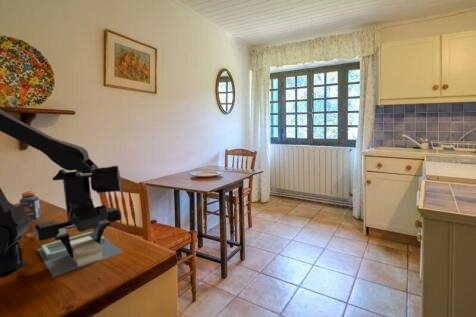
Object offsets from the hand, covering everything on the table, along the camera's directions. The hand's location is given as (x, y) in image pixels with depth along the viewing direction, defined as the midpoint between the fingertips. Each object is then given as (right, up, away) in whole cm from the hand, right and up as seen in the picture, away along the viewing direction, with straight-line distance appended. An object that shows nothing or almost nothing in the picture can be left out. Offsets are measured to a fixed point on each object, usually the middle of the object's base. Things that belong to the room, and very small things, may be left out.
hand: (84, 253), depth 70 cm
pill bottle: (-42, 0, +36) cm, 55 cm away
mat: (-4, -1, +4) cm, 6 cm away
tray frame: (-7, 0, +8) cm, 11 cm away
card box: (0, -1, 0) cm, 1 cm away
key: (-25, -1, +23) cm, 34 cm away
